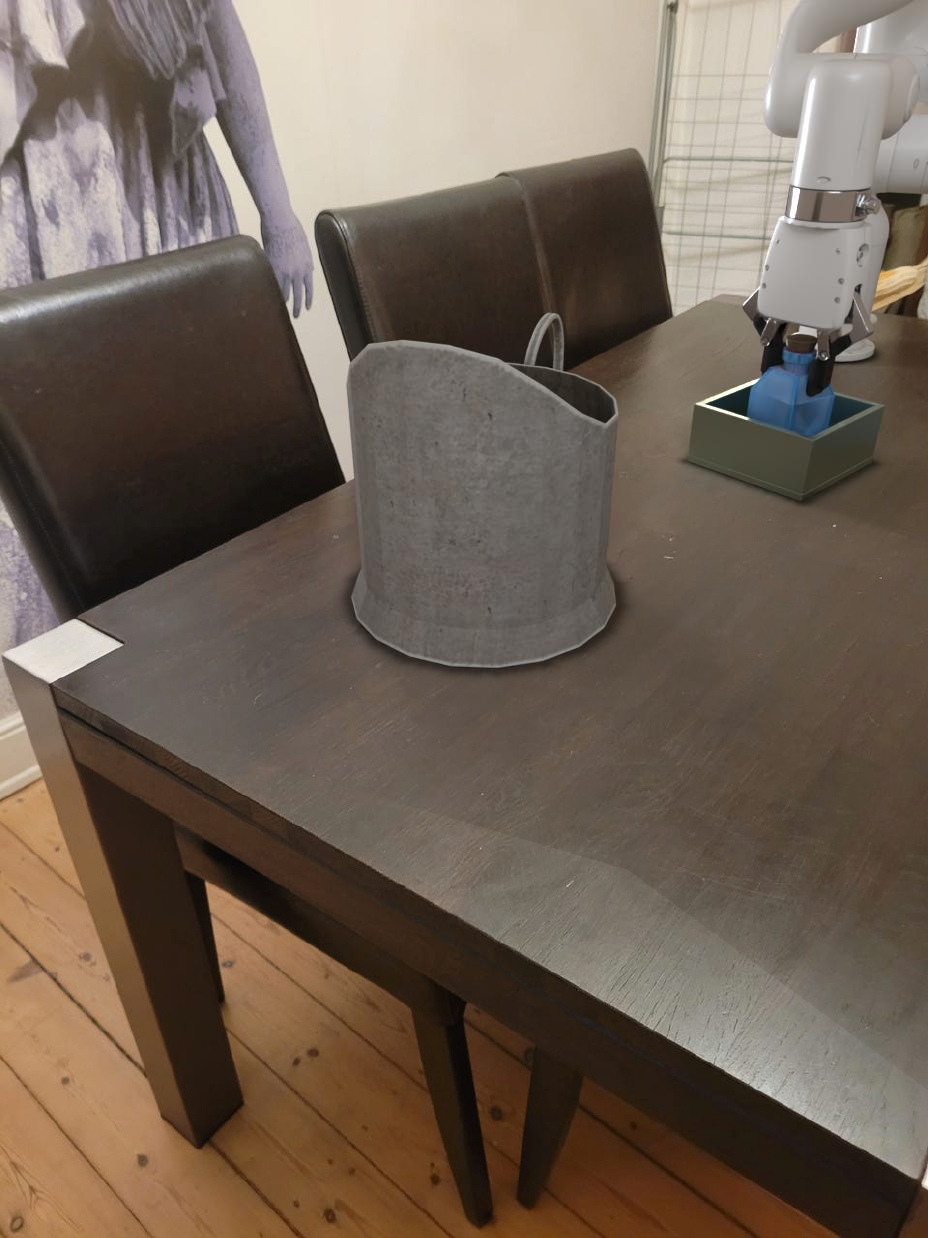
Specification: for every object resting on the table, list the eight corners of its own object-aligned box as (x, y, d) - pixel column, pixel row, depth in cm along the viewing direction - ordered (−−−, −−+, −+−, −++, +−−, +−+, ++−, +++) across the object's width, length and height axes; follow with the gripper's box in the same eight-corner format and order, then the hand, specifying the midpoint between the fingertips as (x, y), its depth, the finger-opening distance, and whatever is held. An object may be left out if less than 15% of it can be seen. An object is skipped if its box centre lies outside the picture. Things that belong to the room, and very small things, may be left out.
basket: (759, 428, 114) (768, 373, 110) (871, 462, 105) (885, 405, 101) (687, 460, 106) (694, 403, 102) (801, 501, 97) (813, 440, 93)
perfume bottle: (782, 460, 101) (803, 350, 94) (742, 441, 105) (759, 335, 99) (823, 448, 103) (846, 340, 97) (782, 430, 108) (801, 326, 101)
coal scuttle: (303, 632, 77) (264, 330, 64) (452, 482, 102) (447, 241, 88) (570, 695, 70) (591, 367, 56) (661, 517, 94) (691, 259, 80)
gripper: (929, 211, 87) (884, 398, 97) (771, 191, 98) (745, 361, 108) (890, 222, 83) (847, 416, 93) (730, 200, 94) (707, 376, 104)
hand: (793, 385), depth 100 cm, fingers closed on perfume bottle, 4 cm apart
